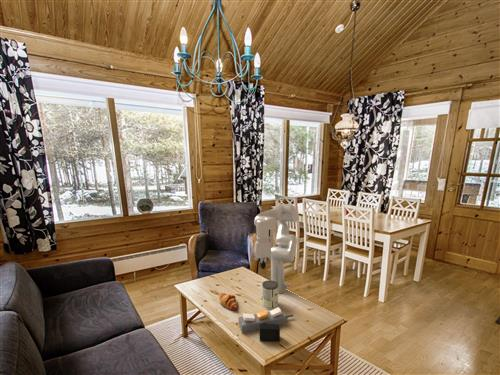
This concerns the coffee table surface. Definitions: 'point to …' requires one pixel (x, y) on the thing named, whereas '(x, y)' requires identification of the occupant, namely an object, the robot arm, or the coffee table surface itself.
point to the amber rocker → (262, 314)
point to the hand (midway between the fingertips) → (262, 268)
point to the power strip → (255, 325)
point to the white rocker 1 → (248, 317)
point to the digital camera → (269, 332)
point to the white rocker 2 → (275, 312)
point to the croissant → (228, 301)
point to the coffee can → (270, 294)
